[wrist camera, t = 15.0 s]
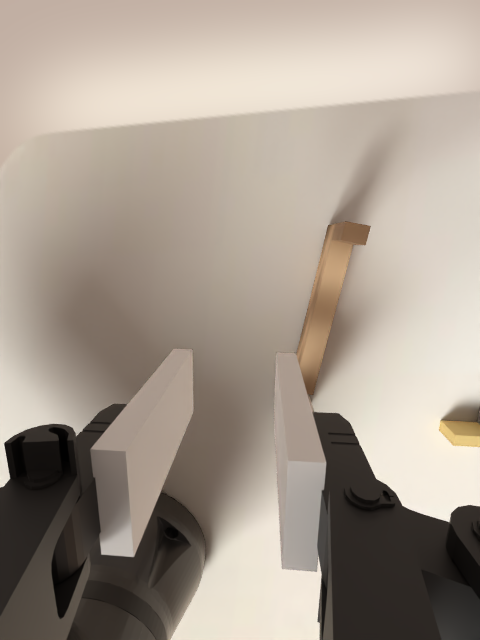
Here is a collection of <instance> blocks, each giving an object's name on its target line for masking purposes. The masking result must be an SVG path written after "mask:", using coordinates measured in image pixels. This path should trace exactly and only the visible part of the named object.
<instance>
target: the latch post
mask: <svg viewBox="0 0 480 640" xmlns="http://www.w3.org/2000/svg"><path fill="white" fill-rule="evenodd" d="M439 431H440V432H441V433H442V434H443V435H444V436H445V437H446V438H447V439H448V440H449V441H450V443H451V444H452V445H453V446H471V447H480V409H479V414H478V419H477V422H464V421H443V420H441V421H440V427H439Z"/></svg>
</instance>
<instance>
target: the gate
mask: <svg viewBox="0 0 480 640" xmlns="http://www.w3.org/2000/svg"><path fill="white" fill-rule="evenodd" d="M370 227H371V226H367V225H362V224H357V223H352V222H347V221H345V222H341V223H336V224H332V225H328V228H327V232H326V236H325V240H324V244H323V249H322V253H321V257H320V261H319V265H318V269H317V273H316V277H315V281H314V285H313V289H312V293H311V297H310V301H309V305H308V309H307V313H306V317H305V322H304V326H303V330H302V334H301V338H300V342H299V346H298V350H297V354H296V355H297V359H298V363H299V366H300V370H301V373H302V377H303V381H304V384H305V388H306V391H307V394H310V395H313V393H314V389H315V385H316V382H317V378H318V374H319V370H320V367H321V363H322V359H323V356H324V352H325V348H326V344H327V341H328V337H329V333H330V329H331V326H332V322H333V318H334V315H335V311H336V307H337V303H338V300H339V296H340V292H341V289H342V285H343V281H344V277H345V274H346V270H347V266H348V262H349V259H350V255H351V251H352V248H353V245H366V241H367V238H368V234H369V231H370Z"/></svg>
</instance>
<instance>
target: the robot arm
mask: <svg viewBox="0 0 480 640" xmlns="http://www.w3.org/2000/svg"><path fill="white" fill-rule="evenodd" d="M193 412H194V397H193V349H173V350H172V351H171V353H170V354H169V355H168V356H167V357H166V359H165V360H164V361H163V362H162V363H161V365H160V366H159V367H158V368H157V369H156V371H155V372H154V373H153V374H152V376H151V377H150V378H149V379H148V380H147V382H146V383H145V384H144V385H143V386H142V388H141V389H140V390H139V391H138V392H137V394H136V395H135V396H134V397H133V398H132V400H131V401H130V402H129V403H128V404H113V405H111V406H109V407H108V408H106V409H104V410H102V411H100V412H99V413H98V414H97V415H96V416H95V417H94V419H93V420H92V421H91V423H90V424H88V425H87V426H86V427H85V428H84V429H83V431H82V432H80V433H79V434H78V435H77V436H76V434H75V432H74V430H73V428H71V427H69V426H67V425H62V424H49V425H41V426H38V427H34V428H31V429H27V430H25V431H23V432H21V433H19V434H17V435H14V436H13V437H12V438H10V439H9V440H8V441H6V442H5V443H4V445H5V450H6V456H7V462H8V468H9V473H10V480H9V481H8V482H7V483H6V485H5V486H4V487H1V488H0V640H170V639H171V637H172V635H173V633H174V632H175V630H176V628H177V626H178V624H179V622H180V620H181V619H182V617H183V615H184V613H185V611H186V609H187V607H188V606H189V604H190V602H191V600H192V598H193V596H194V595H195V593H196V591H197V589H198V586H199V583H200V580H201V577H202V572H203V567H204V562H205V555H206V546H205V540H204V536H203V533H202V531H201V529H200V527H199V525H198V523H197V521H196V520H195V519H194V517H193V516H192V515H191V514H190V512H189V511H188V510H187V509H186V508H184V507H183V506H182V505H181V504H180V503H178V502H177V501H175V500H174V499H172V498H171V497H169V496H167V495H165V494H163V493H160V492H161V490H162V487H163V485H164V483H165V480H166V478H167V475H168V473H169V470H170V468H171V466H172V463H173V461H174V458H175V456H176V453H177V451H178V449H179V446H180V444H181V441H182V439H183V436H184V434H185V432H186V429H187V427H188V424H189V422H190V419H191V417H192V414H193ZM274 429H275V448H276V466H277V485H278V504H279V523H280V541H281V560H282V569H290V570H302V571H315V572H317V565H318V555H319V561H320V567H321V572H322V578H321V589H320V600H319V611H318V622H319V623H320V640H480V507H479V506H472V505H467V506H461V507H458V508H456V509H455V510H454V511H453V512H452V513H451V517H450V522H446V521H443V520H440V519H436V518H433V517H430V516H426V515H423V514H420V513H417V512H415V511H412V510H409V509H407V508H406V507H404V506H402V504H401V502H400V500H399V498H398V497H397V495H396V493H395V492H394V491H393V490H391V489H390V488H389V487H388V486H387V485H386V484H384V483H382V482H380V481H379V480H377V479H376V478H375V476H374V474H373V471H372V469H371V467H370V465H369V463H368V461H367V459H366V456H365V454H364V452H363V450H362V448H361V446H360V445H359V441H358V439H357V437H356V436H355V433H354V431H353V429H352V426H351V424H350V423H349V422H348V421H347V420H346V419H345V418H343V417H342V416H341V415H340V414H339V413H319V412H312V409H311V406H310V402H309V399H308V395H307V391H306V388H305V384H304V381H303V377H302V373H301V370H300V366H299V363H298V359H297V355H296V353H279V352H276V374H275V398H274Z"/></svg>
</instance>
